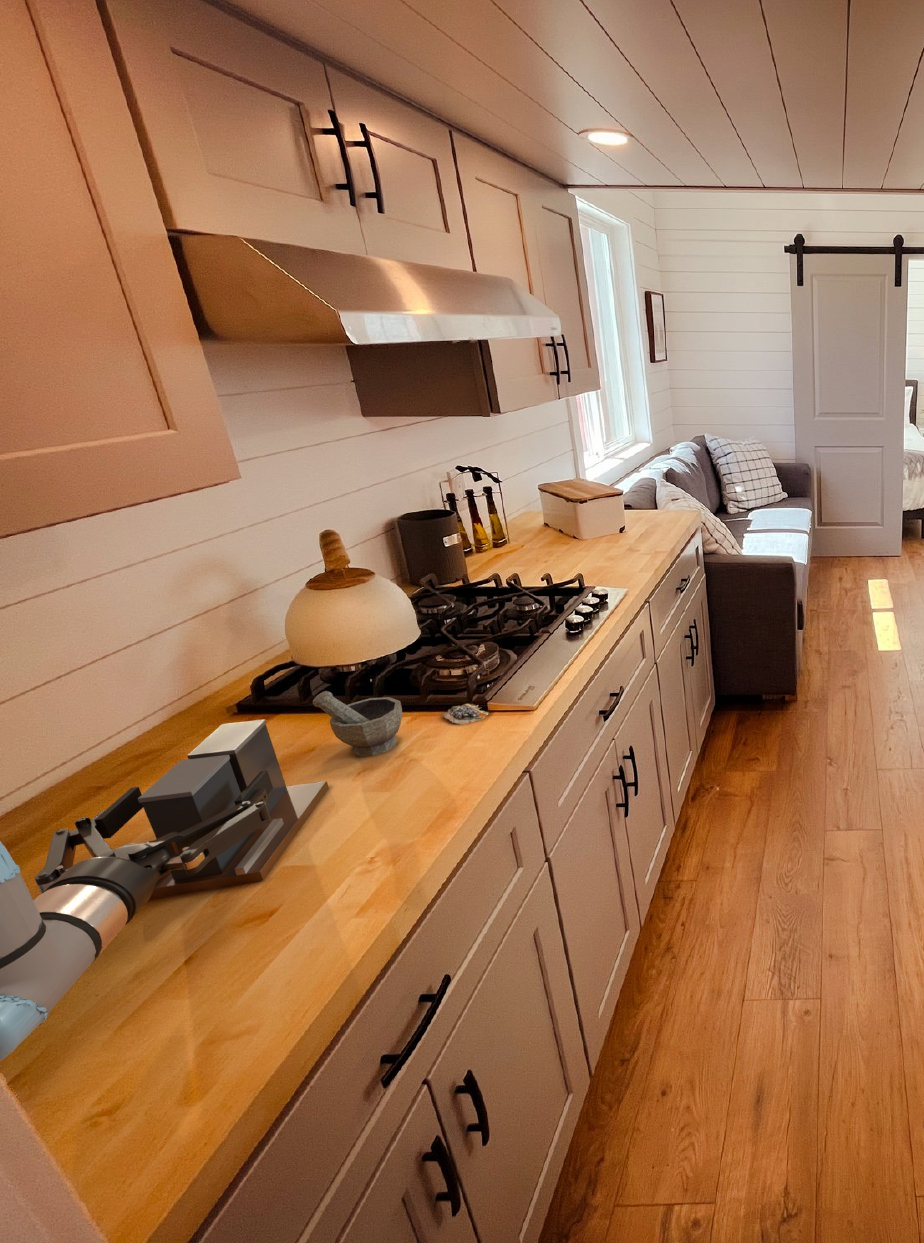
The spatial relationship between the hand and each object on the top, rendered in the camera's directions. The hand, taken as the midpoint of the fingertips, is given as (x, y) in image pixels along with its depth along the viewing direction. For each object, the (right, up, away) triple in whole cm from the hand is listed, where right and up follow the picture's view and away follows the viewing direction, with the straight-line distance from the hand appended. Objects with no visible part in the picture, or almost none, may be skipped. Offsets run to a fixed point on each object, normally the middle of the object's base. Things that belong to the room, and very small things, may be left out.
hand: (204, 787), depth 89 cm
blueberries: (+13, +3, +38) cm, 40 cm away
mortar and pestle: (+3, -1, +27) cm, 27 cm away
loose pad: (+1, -9, +1) cm, 9 cm away
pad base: (0, -9, +6) cm, 10 cm away
